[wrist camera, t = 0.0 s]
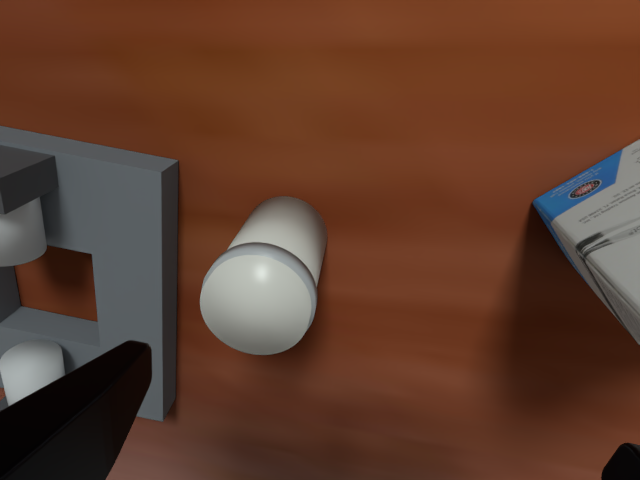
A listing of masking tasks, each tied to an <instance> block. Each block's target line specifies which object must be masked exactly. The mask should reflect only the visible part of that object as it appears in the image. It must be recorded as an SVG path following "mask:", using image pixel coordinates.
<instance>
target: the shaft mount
mask: <svg viewBox="0 0 640 480" xmlns="http://www.w3.org/2000/svg"><path fill="white" fill-rule="evenodd" d="M177 239H178V160H174V159H169V158H164V157H159V156H153V155H148V154H143V153H138V152H133V151H128V150H122V149H117V148H112V147H107V146H102V145H97V144H91V143H86V142H81V141H76V140H71V139H66V138H61V137H55V136H50V135H45V134H40V133H35V132H30V131H24V130H19V129H14V128H9V127H4V126H0V387H2V388H4V389H5V394H6V396H5V397H4V398H3V399H2V400H1V401H0V411H1V410H3V409H4V408H6V407H8V406H10V405H12V404H13V403H15V402H17V401H19V400H21V399H22V398H24V397H26V396H28V395H30V394H31V393H33V392H35V391H37V390H39V389H41V388H42V387H44V386H46V385H48V384H50V383H51V382H53V381H55V380H57V379H59V378H60V377H62V376H64V375H66V374H68V373H69V372H71V371H73V370H75V369H77V368H78V367H80V366H82V365H84V364H86V363H87V362H89V361H91V360H93V359H95V358H97V357H98V356H100V355H102V354H104V353H106V352H107V351H109V350H111V349H113V348H115V347H116V346H118V345H120V344H122V343H124V342H126V341H128V340H135V341H139V342H144V343H148V344H150V346H151V349H152V380H151V384H150V387H149V389H148V391H147V394H146V396H145V398H144V400H143V402H142V405H141V407H140V409H139V411H138V413H137V416H138V417H143V418H147V419H152V420H157V421H162V422H163V421H164V419H165V417H166V415H167V413H168V411H169V409H170V408H171V406H172V404H173V402H174V400H175V398H176V321H177ZM47 245H50V246H55V247H60V248H64V249H69V250H74V251H79V252H84V253H89V254H92V261H93V272H94V283H95V294H96V305H97V316H98V322H95V321H90V320H85V319H80V318H76V317H71V316H66V315H61V314H56V313H51V312H47V311H42V310H37V309H32V308H27V307H22V306H21V303H20V298H19V293H18V287H17V282H16V277H15V271H14V265H20V264H24V263H27V262H30V261H33V260H35V259H37V258H39V257H40V256H42V255H43V254H44V253H45V251H46V249H47Z"/></svg>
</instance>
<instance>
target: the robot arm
mask: <svg viewBox="0 0 640 480" xmlns="http://www.w3.org/2000/svg"><path fill="white" fill-rule="evenodd" d="M151 380H152V349H151V346H150V344H148V343H144V342H139V341H135V340H128V341H126V342H124V343H122V344H120V345H118V346H116V347H115V348H113V349H111V350H109V351H107V352H106V353H104V354H102V355H100V356H98V357H97V358H95V359H93V360H91V361H89V362H87V363H86V364H84V365H82V366H80V367H78V368H77V369H75V370H73V371H71V372H69V373H68V374H66V375H64V376H62V377H60V378H59V379H57V380H55V381H53V382H51V383H50V384H48V385H46V386H44V387H42V388H41V389H39V390H37V391H35V392H33V393H31V394H30V395H28V396H26V397H24V398H22V399H21V400H19V401H17V402H15V403H13V404H12V405H10V406H8V407H6V408H4V409H3V410H1V411H0V480H105V479H106V478H107V476H108V474H109V472H110V470H111V469H112V467H113V465H114V463H115V461H116V459H117V457H118V455H119V453H120V451H121V448H122V446H123V444H124V442H125V440H126V437H127V435H128V433H129V431H130V429H131V427H132V424H133V422H134V420H135V418H136V416H137V413H138V411H139V409H140V407H141V405H142V402H143V400H144V398H145V396H146V394H147V391H148V389H149V387H150V384H151ZM601 479H602V480H640V445H636V444H631V443H624V444H622V445H620V446H619V447H618V449H617V450H616V452H615V453H614V454H613V456H612V457H611V459H610V460H609V461H608V463H607V464H606V466H605V467H604V469H603V471H602V477H601Z"/></svg>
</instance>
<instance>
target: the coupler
mask: <svg viewBox="0 0 640 480" xmlns="http://www.w3.org/2000/svg"><path fill="white" fill-rule="evenodd" d="M326 244H327V229H326V226H325V223H324V221H323V219H322V217H321V216H320V214H319V213H318V212H317V211H316V210H315V209H314V208H313V207H312V206H311V205H309V204H308V203H306V202H304V201H303V200H300V199H297V198H294V197H288V196H279V197H273V198H270V199H267V200H265V201H263V202H262V203H260V204H259V205H258V206H257V207H256V208H255V209H254V210H253V211H252V213H251V214H250V216H249V217H248V219H247V220H246V222H245V223H244V225H243V226H242V228H241V229H240V231H239V232H238V234H237V235H236V237H235V238H234V240H233V241H232V243H231V245H230V246H229V248H228V249H227V250H226V251H225V252H224V253H222V254H221V255H220V256H219V257H218V258H217V259H216V261H215V262H214V264H213V265H212V267H211V268H210V270H209V271H208V273H207V274H206V276H205V278H204V281H203V285H202V291H201V295H200V308H201V313H202V316H203V319H204V321H205V323H206V324H207V326H208V327H209V329H210V330H211V331H212V333H213V334H214V335H215V336H216V337H217V338H218V339H220V340H221V341H222V342H224V343H225V344H227V345H228V346H230V347H232V348H234V349H236V350H239V351H242V352H245V353H249V354H255V355H271V354H276V353H280V352H283V351H285V350H288V349H289V348H291V347H293V346H294V345H295V344H296V343H298V342H299V341H300V339H301V338H302V337H303V336H304V334H305V332H306V331H307V330H308V328H309V327H310V325H311V323H312V321H313V318H314V314H315V310H316V305H317V298H318V295H317V284H318V280H319V275H320V271H321V266H322V262H323V258H324V253H325V249H326Z"/></svg>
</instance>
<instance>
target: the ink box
mask: <svg viewBox="0 0 640 480" xmlns="http://www.w3.org/2000/svg"><path fill="white" fill-rule="evenodd" d="M533 205H534V207H535V208H536V210H537V212H538V213H539V215H540V217H541V218H542V220H543V221H544V223H545V225H546V226H547V228H548V229H549V231H550V233H551V234H552V236H553V237H554V239H555V241H556V242H557V244H558V245H559V247H560V248H561V250H562V251H563V253H564V254H565V256H566V257H567V259H568V260H569V262H570V263H571V264H572V266H573V267H574V268H575V270H576V271H577V272H578V273H579V274H580V276H581V277H582V278H583V279H584V280H585V282H586V283H587V284H588V285H589V286H590V288H591V289H592V290H593V291H594V292H595V294H596V295H597V296H598V297H599V298H600V299H601V301H602V302H603V303H604V304H605V305H606V307H607V308H608V309H609V310H610V311H611V312H612V314H613V315H614V316H615V317H616V318H617V319H618V321H619V322H620V323H621V324H622V325H623V327H624V328H625V329H626V330H627V331H628V332H629V334H630V335H631V336H632V337H633V338H634V339H635V341H636V342H637V343H638V344H639V345H640V139H639V140H638V141H636V142H634V143H632V144H631V145H629V146H627V147H625V148H623V149H622V150H620V151H618V152H616V153H615V154H613V155H611V156H610V157H608V158H606V159H604V160H603V161H601V162H599V163H597V164H596V165H594V166H592V167H590V168H589V169H587V170H585V171H583V172H582V173H580V174H578V175H577V176H575V177H573V178H571V179H569V180H568V181H566V182H564V183H563V184H561V185H559V186H557V187H555V188H554V189H552V190H550V191H548V192H547V193H545V194H543V195H542V196H540V197H538V198H536V199H535V200H534V201H533Z"/></svg>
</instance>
